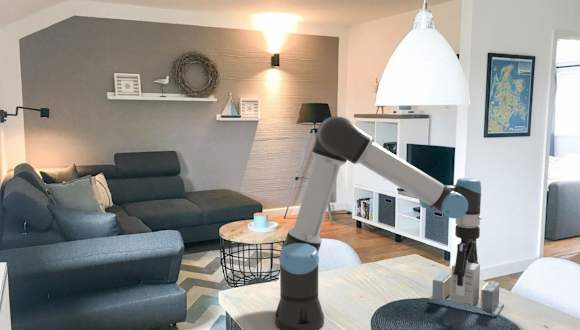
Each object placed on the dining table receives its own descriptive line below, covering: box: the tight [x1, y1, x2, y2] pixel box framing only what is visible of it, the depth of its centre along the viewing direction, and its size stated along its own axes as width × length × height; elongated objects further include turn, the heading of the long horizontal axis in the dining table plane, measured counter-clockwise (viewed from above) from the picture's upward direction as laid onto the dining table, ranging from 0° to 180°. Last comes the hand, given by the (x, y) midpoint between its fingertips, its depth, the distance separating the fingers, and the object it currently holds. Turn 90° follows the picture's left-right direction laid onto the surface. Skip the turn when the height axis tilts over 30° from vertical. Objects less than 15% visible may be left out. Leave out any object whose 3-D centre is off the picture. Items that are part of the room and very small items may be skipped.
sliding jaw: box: [431, 271, 452, 300], centre depth 165 cm, size 10×4×7 cm, turn 145°
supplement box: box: [451, 261, 481, 306], centre depth 161 cm, size 7×7×13 cm
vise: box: [428, 280, 505, 316], centre depth 161 cm, size 11×22×8 cm, turn 55°
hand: (465, 289), depth 161 cm, fingers open, 12 cm apart
